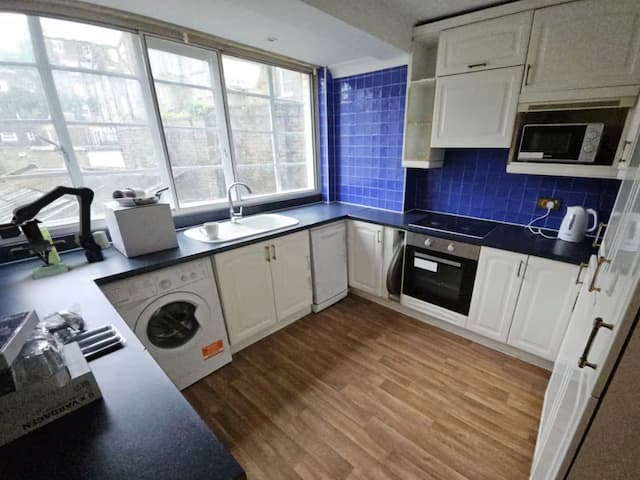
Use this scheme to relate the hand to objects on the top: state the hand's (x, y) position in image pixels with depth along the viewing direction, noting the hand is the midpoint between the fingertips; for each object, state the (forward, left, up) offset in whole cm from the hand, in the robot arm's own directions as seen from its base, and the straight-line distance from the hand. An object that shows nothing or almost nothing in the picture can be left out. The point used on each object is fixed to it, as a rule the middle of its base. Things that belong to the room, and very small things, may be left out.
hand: (47, 264), depth 146 cm
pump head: (0, 0, -2) cm, 2 cm away
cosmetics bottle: (-17, -34, -5) cm, 38 cm away
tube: (+3, -19, -5) cm, 20 cm away
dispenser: (0, 0, -4) cm, 4 cm away
